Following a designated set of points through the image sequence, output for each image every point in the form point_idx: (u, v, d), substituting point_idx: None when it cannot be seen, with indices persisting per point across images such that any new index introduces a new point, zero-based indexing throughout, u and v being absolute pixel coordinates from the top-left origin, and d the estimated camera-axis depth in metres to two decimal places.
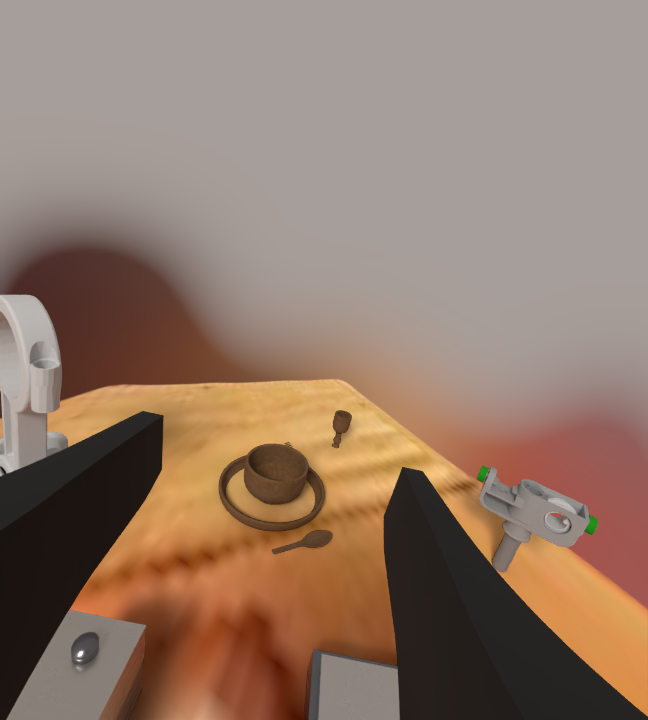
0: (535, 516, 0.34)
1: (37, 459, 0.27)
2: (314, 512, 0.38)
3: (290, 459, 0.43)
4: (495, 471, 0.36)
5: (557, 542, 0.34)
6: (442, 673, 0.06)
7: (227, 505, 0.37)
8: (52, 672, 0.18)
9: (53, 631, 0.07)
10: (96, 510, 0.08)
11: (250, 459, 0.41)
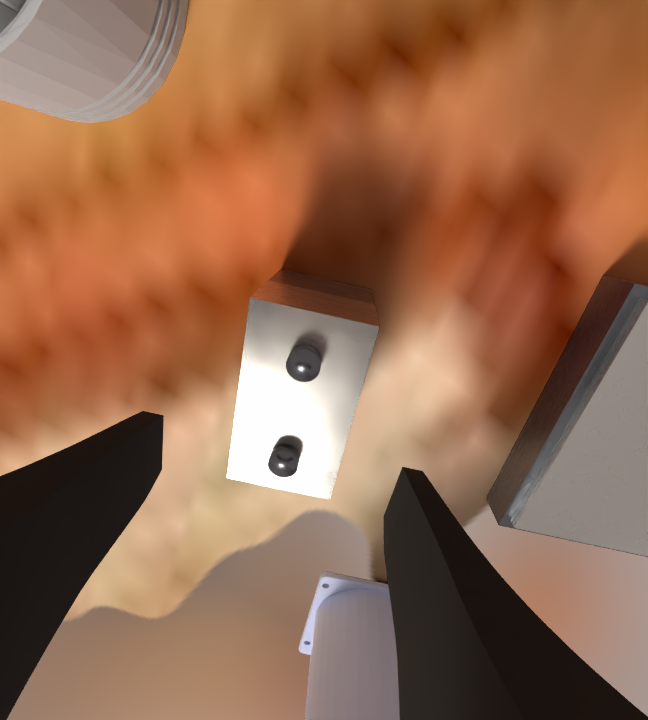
0: None
1: None
2: None
3: None
4: None
5: None
6: (442, 673, 0.06)
7: None
8: (275, 380, 0.13)
9: (54, 630, 0.07)
10: (96, 510, 0.08)
11: None
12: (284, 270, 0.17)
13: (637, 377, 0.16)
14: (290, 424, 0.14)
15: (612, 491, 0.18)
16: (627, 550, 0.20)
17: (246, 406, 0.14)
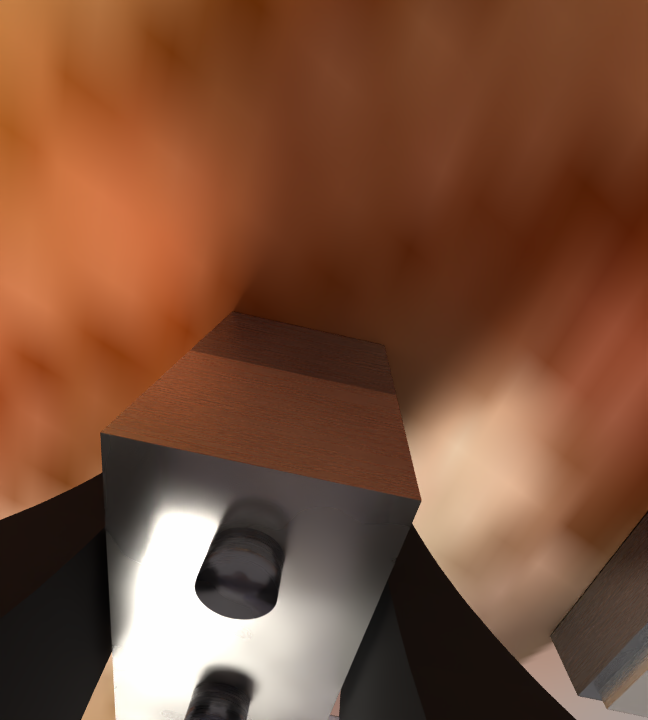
0: None
1: None
2: None
3: None
4: None
5: None
6: (370, 658, 0.06)
7: None
8: (187, 587, 0.06)
9: None
10: None
11: None
12: (236, 316, 0.10)
13: None
14: (225, 656, 0.07)
15: None
16: None
17: (132, 625, 0.07)
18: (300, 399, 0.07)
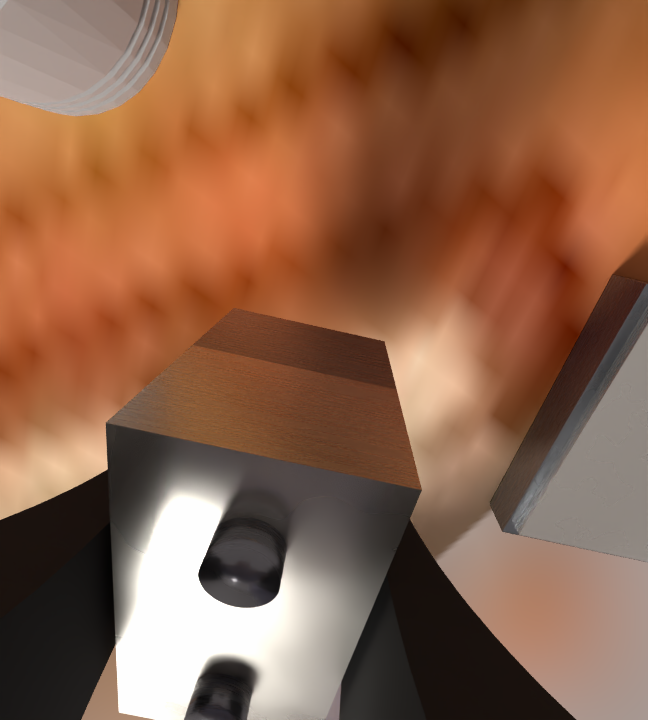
0: None
1: None
2: None
3: None
4: None
5: None
6: (370, 658, 0.06)
7: None
8: (190, 577, 0.06)
9: (113, 643, 0.07)
10: None
11: None
12: (238, 312, 0.10)
13: None
14: (227, 647, 0.07)
15: (620, 497, 0.18)
16: (634, 557, 0.19)
17: (136, 616, 0.07)
18: (301, 392, 0.07)
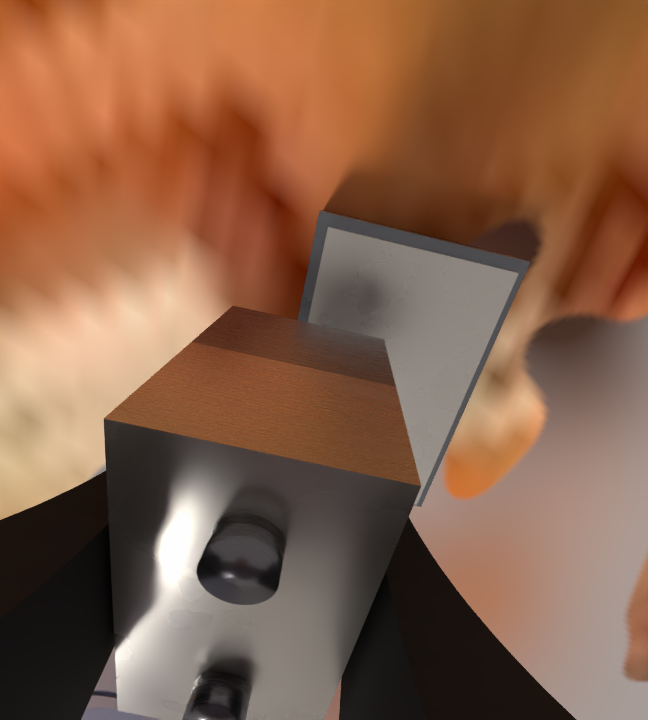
0: None
1: None
2: None
3: None
4: None
5: None
6: (370, 658, 0.06)
7: None
8: (189, 575, 0.06)
9: (113, 643, 0.07)
10: None
11: None
12: (237, 310, 0.10)
13: (342, 310, 0.16)
14: (226, 645, 0.07)
15: None
16: None
17: (135, 614, 0.07)
18: (301, 389, 0.07)
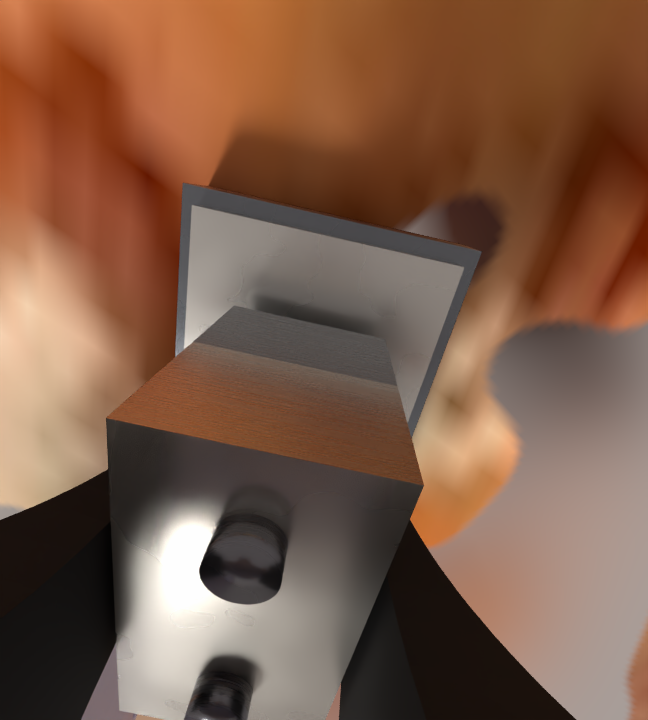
0: None
1: None
2: None
3: None
4: None
5: None
6: (370, 658, 0.06)
7: None
8: (190, 575, 0.06)
9: (113, 643, 0.07)
10: None
11: None
12: (238, 309, 0.10)
13: None
14: (228, 645, 0.07)
15: None
16: None
17: (136, 613, 0.07)
18: (302, 389, 0.07)
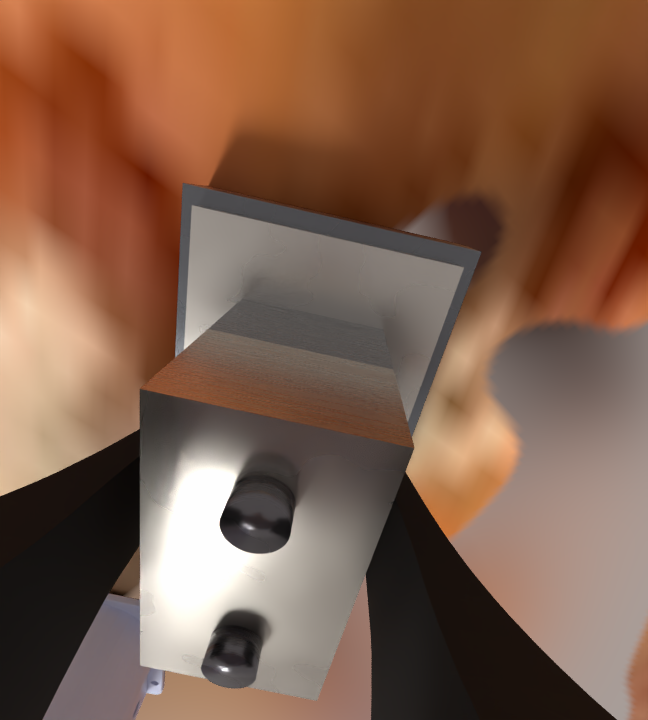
0: None
1: None
2: None
3: None
4: None
5: None
6: (408, 666, 0.06)
7: None
8: (208, 532, 0.07)
9: (82, 636, 0.07)
10: (123, 516, 0.08)
11: None
12: (246, 302, 0.11)
13: None
14: (241, 599, 0.08)
15: None
16: None
17: (159, 570, 0.07)
18: (308, 370, 0.08)
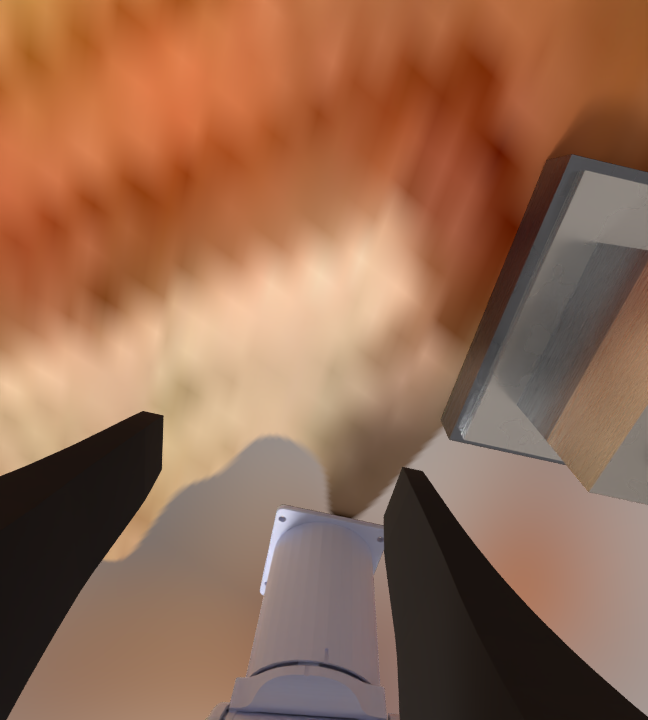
0: None
1: None
2: None
3: None
4: None
5: None
6: (442, 673, 0.06)
7: None
8: None
9: (53, 631, 0.07)
10: (96, 510, 0.08)
11: None
12: (606, 244, 0.15)
13: (578, 260, 0.15)
14: None
15: None
16: None
17: None
18: None
